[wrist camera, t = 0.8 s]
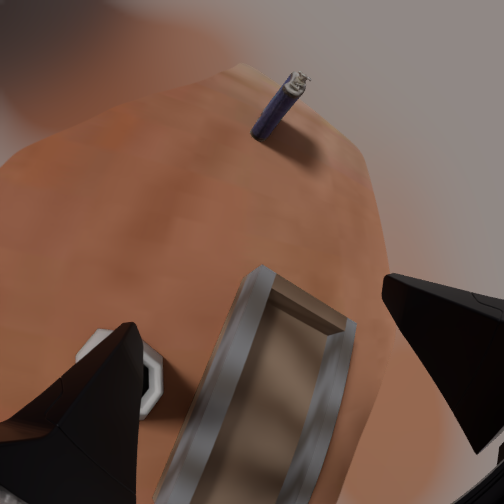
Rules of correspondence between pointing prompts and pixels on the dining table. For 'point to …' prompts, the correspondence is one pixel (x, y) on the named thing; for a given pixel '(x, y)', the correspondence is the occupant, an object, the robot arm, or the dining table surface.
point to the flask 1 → (151, 371)
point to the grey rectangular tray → (263, 400)
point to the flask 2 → (279, 105)
